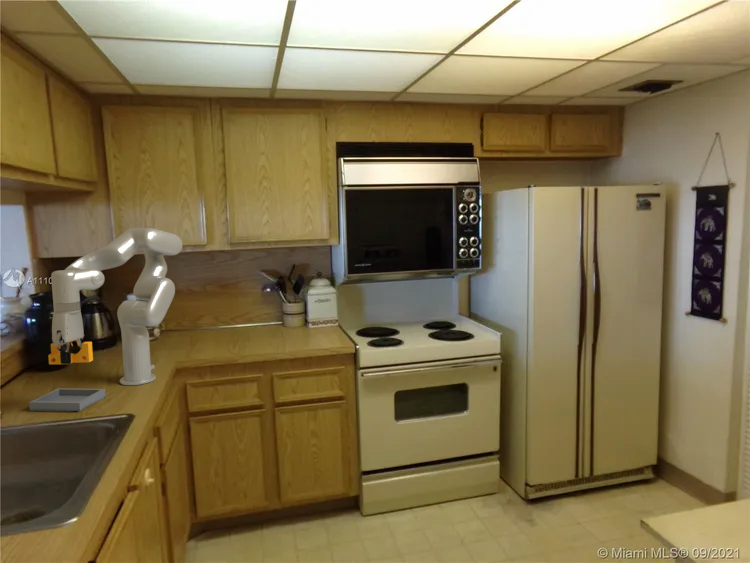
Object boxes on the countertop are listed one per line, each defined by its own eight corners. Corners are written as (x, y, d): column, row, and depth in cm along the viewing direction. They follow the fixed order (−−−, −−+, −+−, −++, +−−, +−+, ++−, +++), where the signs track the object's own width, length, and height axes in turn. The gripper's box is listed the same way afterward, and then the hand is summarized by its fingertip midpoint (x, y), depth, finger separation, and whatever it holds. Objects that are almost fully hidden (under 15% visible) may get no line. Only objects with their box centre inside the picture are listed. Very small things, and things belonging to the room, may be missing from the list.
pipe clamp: (49, 364, 164) (47, 345, 164) (56, 360, 169) (55, 342, 168) (86, 363, 165) (85, 344, 164) (93, 360, 169) (91, 341, 169)
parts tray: (59, 396, 176) (58, 388, 176) (105, 397, 176) (104, 389, 175) (29, 411, 163) (28, 402, 162) (80, 412, 162) (79, 403, 161)
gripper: (72, 303, 173) (75, 354, 175) (38, 312, 156) (43, 368, 158) (93, 303, 173) (96, 354, 175) (61, 312, 156) (66, 368, 158)
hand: (71, 360), depth 167 cm, fingers closed on pipe clamp, 4 cm apart
